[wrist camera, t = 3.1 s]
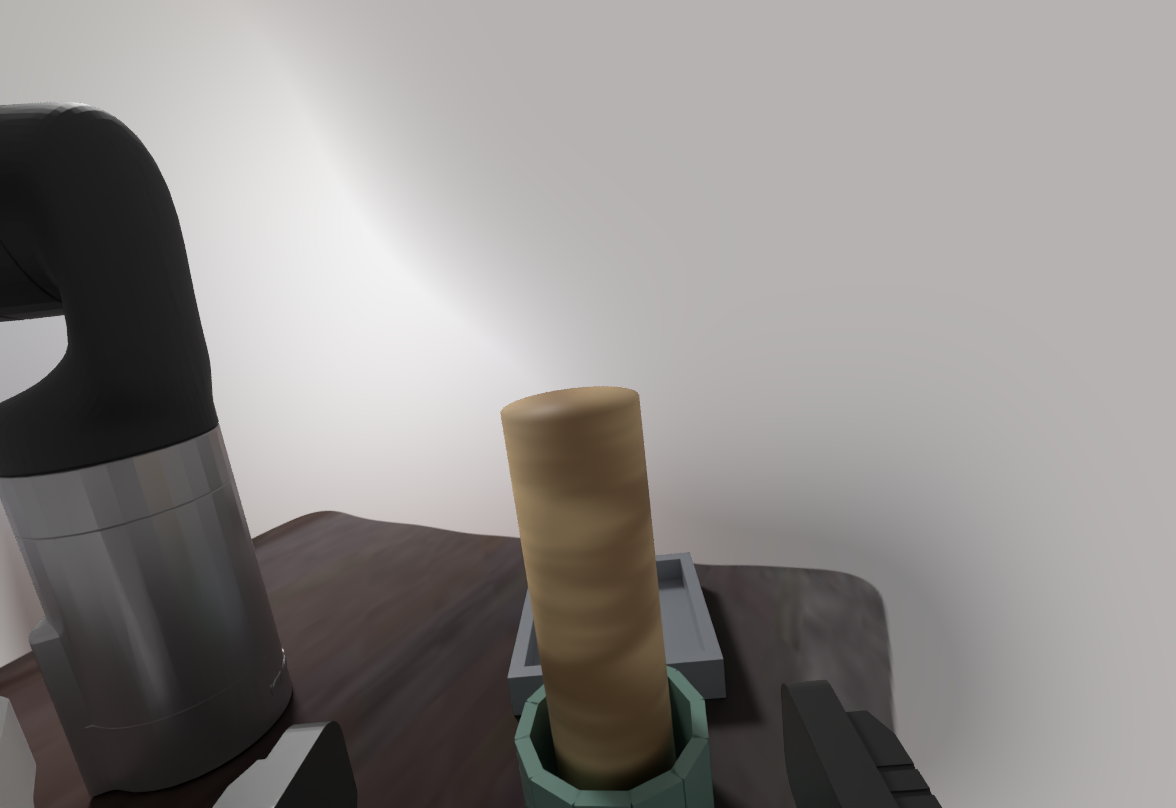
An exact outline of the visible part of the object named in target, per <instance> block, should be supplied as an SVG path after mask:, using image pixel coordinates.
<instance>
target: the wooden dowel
mask: <svg viewBox="0 0 1176 808" xmlns="http://www.w3.org/2000/svg"><path fill="white" fill-rule="evenodd" d="M501 419H502V425H503V431H504V437H505V444H506V450H507V456H508V462H509V469H510V475H511V481H512V487H513V493H514V500H515V506H516V513H517V519H518V525H519V531H520V538H521V544H522V550H523V556H524V563H525V569H526V575H527V581H528V588H529V594H530V600H531V606H532V613H533V619H534V625H535V632H536V638H537V644H538V650H539V657H540V663H541V669H542V675H543V682H544V688H545V694H546V700H547V707H548V713H549V719H550V725H551V732H552V738H553V744H554V750H555V757H556V763H557V769H558V775H559V779H561V780H563V781H564V782H566V783H568V784H570V785H571V786H573V787H575V788H576V789H578V790H587V791H629V790H631V789H633V788H635V787H637V786H639V785H641V784H643V783H645V782H647V781H649V780H651V779H653V778H655V777H657V776H659V775H661V774H663V773H665V772H667V771H669V770H671V769H672V767H673V766H674V764H675V763H676V756H675V746H674V736H673V727H672V717H671V707H670V697H669V687H668V677H667V667H666V657H665V648H664V638H663V628H662V618H661V608H660V598H659V588H658V578H657V568H656V559H655V550H654V539H653V529H652V519H651V509H650V499H649V490H648V480H647V471H646V460H645V451H644V441H643V430H642V421H641V411H640V401H639V394H638V393H637V392H636V391H634V390H631V389H627V388H622V387H604V386H603V387H582V388H571V389H564V390H557V391H552V392H546V393H542V394H537V395H534V396H530V397H526V398H523V399H520V400H518V401H515V402H513V403H511V404H509V405H507V406H505V407H504V408H503V409H502V410H501Z"/></svg>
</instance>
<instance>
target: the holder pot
mask: <svg viewBox="0 0 1176 808" xmlns="http://www.w3.org/2000/svg"><path fill="white" fill-rule="evenodd" d="M666 667H667V677H668V687H669V697H670V707H671V717H672V727H673V736H674V746H675V756H676V763H675V764H674V766H673V767H672V769H671V770H669V771H667V772H665V773H663V774H661V775H659V776H657V777H655V778H653V779H651V780H649V781H647V782H645V783H643V784H641V785H639V786H637V787H635V788H633V789H631V790H629V791H587V790H578V789H576V788H575V787H573V786H571V785H570V784H568V783H566V782H564V781H563V780H561V779H559V775H558V769H557V763H556V757H555V750H554V744H553V738H552V732H551V725H550V719H549V713H548V707H547V700H546V694H545V688H544V684H543V685H542V686H541V687H540V688H539V689H538V690H537V691H536V692H535V693H534V694H533V695H532V696H531V697H530V698H529V699H528V700H526V701H527V702H525V705H524V709H523V712H522V715H521V719H520V722H519V725H518V729H517V732H516V735H515V740H514V741H515V746H516V752H517V757H518V763H519V769H520V774H521V780H522V785H523V791H524V797H525V802H526V808H714V796H713V784H712V772H711V760H710V749H709V737H708V728H707V719H706V709H705V700H704V698H703V697H702V696H701V695H700V694H699V693H698V691H697V690H696V689H695V688H694V687H693V686H692V685H691V684H690V683H689V681H688V680H687V679H686V678H685V677H684V676H683V675H682V674H681V673H680V672H679V670H678V671H677V669H674V668H672V667H669V666H666Z"/></svg>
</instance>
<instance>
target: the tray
mask: <svg viewBox="0 0 1176 808" xmlns="http://www.w3.org/2000/svg"><path fill="white" fill-rule="evenodd" d="M655 559H656V568H657V578H658V588H659V598H660V608H661V618H662V628H663V638H664V648H665V657H666V666H669V667H672V668H674V669H677V671H678V670H679V672H680V673H681V674H682V675H683V676H684V677H685V678H686V679H687V680H688V681H689V683H690V684H691V685H692V686H693V687H694V688H695V689H696V690H697V691H698V693H699V694H700V695H701V696H702V697H703V698H704V699H714V698H726V688H725V674H724V661H723V656H722V653H721V650H720V647H719V644H718V640H717V637H716V634H715V631H714V628H713V625H712V622H711V618H710V615H709V612H708V609H707V606H706V603H705V599H704V596H703V593H702V590H701V587H700V584H699V580H698V577H697V574H696V571H695V568H694V565H693V562H692V558H691V555H690V553H689V552H688V553H678V554H667V555H657V556H655ZM508 684H509V690H510V695H511V701H512V707H513V712H514V715H522V712H523V709H524V705H525V702H527V701H526V700H528V699H529V698H530V697H531V696H532V695H533V694H534V693H535V692H536V691H537V690H538V689H539V688H540V687H541V686H542V685H543V684H544V682H543V675H542V669H541V663H540V657H539V650H538V644H537V638H536V632H535V625H534V619H533V613H532V606H531V600H530V594H529V588H528V590H527V595H526V599H525V603H524V608H523V612H522V617H521V621H520V625H519V630H518V634H517V639H516V643H515V647H514V652H513V656H512V660H511V665H510V669H509V674H508Z"/></svg>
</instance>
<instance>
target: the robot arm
mask: <svg viewBox="0 0 1176 808" xmlns="http://www.w3.org/2000/svg"><path fill="white" fill-rule="evenodd" d="M60 315H65V320H66V325H67V336H68V347H67V350H66V354H65V355H64V357H63V359H62V360H61V361H60V363H59V364H58V365H57V366H56V367H55V368H54V370H52V371H51V372H50V373H49V374H48V375H47V376H46V377H45V378H43V379H42V380H41V381H40V382H38V383H37V384H35V385H34V386H32V387H30V388H29V389H27V390H26V391H23V392H21V393H19V394H18V395H16V396H14V397H12V398H9V399H7V400H5V401H3V402H1V403H0V499H1V502H2V504H3V507H4V509H5V512H6V515H7V517H8V520H9V523H10V525H11V528H12V531H13V533H14V535H15V538H16V540H17V543H18V545H19V548H20V551H21V553H22V556H23V559H24V561H25V564H26V567H27V569H28V571H29V574H30V577H31V580H32V582H33V585H34V587H35V590H36V593H37V595H38V598H39V600H40V603H41V605H42V608H43V611H44V614H45V616H44V618H42V619H41V621H40V622H39V623H38V624H37V625H36V626H35V627H34V628H33V629H32V630H31V632H30V634H29V643H30V646H31V648H32V651H33V654H34V656H35V659H36V661H37V664H38V666H39V669H40V671H41V674H42V676H43V679H44V681H45V684H46V686H47V689H48V691H49V694H50V697H51V699H52V702H53V704H54V707H55V709H56V712H57V714H58V717H59V719H60V722H61V724H62V727H63V729H64V732H65V734H66V737H67V740H68V742H69V745H70V747H71V750H72V752H73V755H74V757H75V760H76V762H77V765H78V767H79V770H80V772H81V775H82V777H83V780H84V783H85V785H86V788H87V790H88V793H89V795H90V796H91V797H93V796H96V795H99V794H102V793H105V792H108V791H112V790H123V791H129V792H146V791H155V790H159V789H164V788H168V787H172V786H175V785H178V784H181V783H184V782H186V781H189V780H192V779H194V778H197V777H199V776H201V775H203V774H205V773H207V772H209V771H211V770H213V769H215V768H217V767H219V766H221V765H222V764H224V763H226V762H227V761H229V760H231V759H232V758H234V757H235V756H237V755H239V754H240V753H241V752H243V751H244V750H245V749H247V748H248V747H249V746H251V745H252V744H253V743H255V742H256V741H257V740H258V739H259V738H260V737H261V736H262V735H264V734H265V733H266V732H267V731H268V730H269V729H270V728H271V727H272V726H273V725H274V723H275V722H276V721H277V720H278V719H279V717H280V716H281V715H282V713H283V712H284V710H285V708H286V707H287V705H288V703H289V700H290V697H291V694H292V682H291V679H290V675H289V672H288V668H287V663H286V662H287V661H286V658H285V654H284V651H283V649H282V647H281V643H280V639H279V636H278V632H277V628H276V624H275V621H274V617H273V614H272V610H271V607H270V603H269V600H268V596H267V593H266V589H265V585H264V582H263V578H262V575H261V571H260V568H259V564H258V561H257V557H256V554H255V550H254V546H253V543H252V539H251V536H250V533H249V529H248V525H247V522H246V518H245V515H244V511H243V508H242V504H241V500H240V497H239V493H238V490H237V486H236V483H235V479H234V476H233V472H232V469H231V465H230V462H229V458H228V454H227V451H226V447H225V444H224V440H223V436H222V433H221V429H220V426H219V423H218V422H219V421H218V417H217V414H216V410H215V406H214V403H213V395H212V382H211V381H212V380H211V367H210V360H209V354H208V350H207V346H206V342H205V338H204V334H203V329H202V326H201V321H200V317H199V312H198V307H197V303H196V299H195V294H194V289H193V284H192V279H191V274H190V269H189V264H188V259H187V254H186V249H185V244H184V240H183V236H182V232H181V227H180V223H179V219H178V216H177V213H176V210H175V207H174V204H173V201H172V197H171V194H170V192H169V189H168V187H167V184H166V182H165V180H164V178H163V176H162V174H161V172H160V170H159V168H158V166H157V164H156V162H155V161H154V159H153V157H152V156H151V154H150V153H149V152H148V150H147V149H146V147H145V146H144V145H143V143H142V142H141V140H140V139H139V138H138V137H137V136H136V135H135V134H134V133H133V132H132V131H131V130H130V129H129V128H128V127H127V126H126V125H125V124H124V123H122V122H121V121H120V120H118V119H117V118H116V117H114V116H112V115H111V114H109V113H107V112H105V111H103V110H101V109H98V108H96V107H93V106H89V105H86V104H81V103H69V102H49V103H48V102H47V103H31V104H30V103H29V104H13V105H0V322H4V321H15V320H24V319H34V318H43V317H51V316H60ZM781 699H782V717H783V735H784V752H785V763H786V769H787V774H788V779H789V783H790V787H791V791H792V794H793V797H794V800H795V803H796V806H797V808H942V807H941V805H940V804H939V802H938V800H937V799H936V797H935V796H934V795H932V794H931V792H930V788H929V786H928V785H927V783H926V782H925V780H924V779H923V777H922V776H921V774H920V772H919V771H918V770H917V769H915V767H914V763H913V762H912V760H911V758H910V757H909V756H908V754H907V752H906V751H905V749H904V747H903V746H902V744H901V743H900V741H899V740H898V738H897V737H896V735H895V734H894V733H893V732H892V731H891V730H889V729H888V728H887V727H886V726H885V725H883V724H882V723H881V722H880V721H879V720H877V719H876V718H875V717H874V716H872V715H871V714H870V713H869V712H868V711H855V712H845V710H844V708H843V707H842V705H841V703H840V701H839V699H838V698H837V696H836V694H835V692H834V691H833V689H832V687H831V685H830V684H829V683H828V681H826V680H817V681H805V682H794V683H783V684H782V687H781ZM212 808H357V788H356V784H355V780H354V776H353V772H352V768H351V764H350V760H349V756H348V752H347V748H346V745H345V741H344V737H343V733H342V729H341V727H340V725H339V724H338V723H337V722H336V721H328V722H317V723H305V724H295V725H292V726H290V727H289V728H288V729H287V730H286V731H285V733H284V734H283V735H282V737H281V738H280V740H279V741H278V742H277V744H276V745H275V747H274V748H273V750H272V751H271V752H270V754H269V755H268V757H267V758H266V759H263V760H257V761H256V762H255V763H254V764H253V765H252V766H251V767H250V768H248V769H247V770H246V771H245V772H244V773H243V774H242V775H240V776H239V777H238V778H237V779H236V780H235V781H234V782H233V783H231V784H230V785H229V786H228V787H227V789H226V790H225V791H224V793H223V794H222V795H221V797H220V798H219V799H218V801H217V802H216V803H215V805H214V806H213V807H212Z"/></svg>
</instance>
